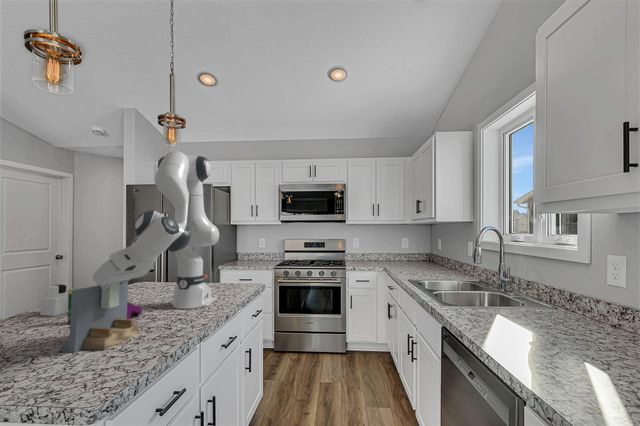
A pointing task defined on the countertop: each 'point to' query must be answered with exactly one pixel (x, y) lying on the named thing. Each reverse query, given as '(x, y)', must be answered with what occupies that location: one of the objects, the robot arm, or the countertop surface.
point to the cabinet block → (110, 296)
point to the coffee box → (70, 304)
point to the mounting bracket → (132, 310)
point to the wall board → (92, 314)
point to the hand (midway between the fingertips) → (110, 287)
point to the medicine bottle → (55, 301)
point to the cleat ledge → (111, 334)
